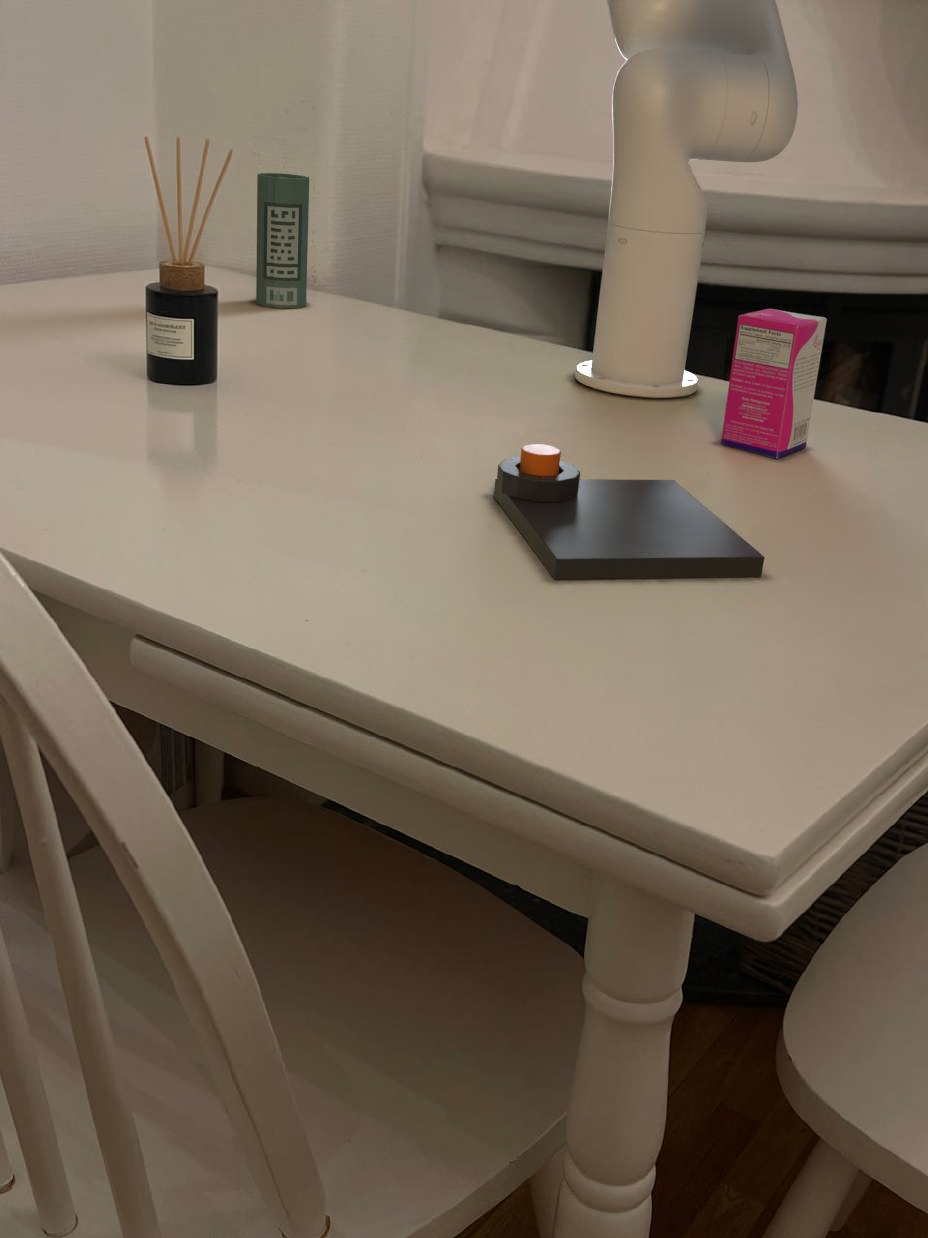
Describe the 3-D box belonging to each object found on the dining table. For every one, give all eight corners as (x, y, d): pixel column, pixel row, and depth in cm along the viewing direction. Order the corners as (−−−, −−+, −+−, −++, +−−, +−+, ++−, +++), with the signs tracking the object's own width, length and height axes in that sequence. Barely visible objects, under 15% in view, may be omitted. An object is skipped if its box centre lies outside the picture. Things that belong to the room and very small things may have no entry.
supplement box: (747, 433, 115) (769, 306, 110) (807, 448, 112) (832, 318, 107) (716, 443, 111) (737, 312, 106) (777, 459, 108) (802, 324, 103)
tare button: (514, 467, 91) (517, 443, 90) (552, 467, 91) (554, 443, 91) (525, 479, 88) (527, 454, 88) (563, 479, 89) (565, 455, 88)
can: (304, 300, 159) (307, 175, 153) (306, 309, 154) (310, 179, 148) (256, 297, 158) (257, 171, 152) (256, 306, 153) (257, 176, 147)
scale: (487, 495, 93) (491, 455, 92) (669, 495, 96) (675, 457, 95) (549, 580, 78) (554, 534, 77) (761, 577, 82) (769, 533, 80)
